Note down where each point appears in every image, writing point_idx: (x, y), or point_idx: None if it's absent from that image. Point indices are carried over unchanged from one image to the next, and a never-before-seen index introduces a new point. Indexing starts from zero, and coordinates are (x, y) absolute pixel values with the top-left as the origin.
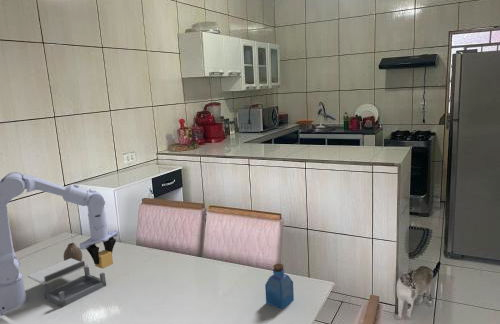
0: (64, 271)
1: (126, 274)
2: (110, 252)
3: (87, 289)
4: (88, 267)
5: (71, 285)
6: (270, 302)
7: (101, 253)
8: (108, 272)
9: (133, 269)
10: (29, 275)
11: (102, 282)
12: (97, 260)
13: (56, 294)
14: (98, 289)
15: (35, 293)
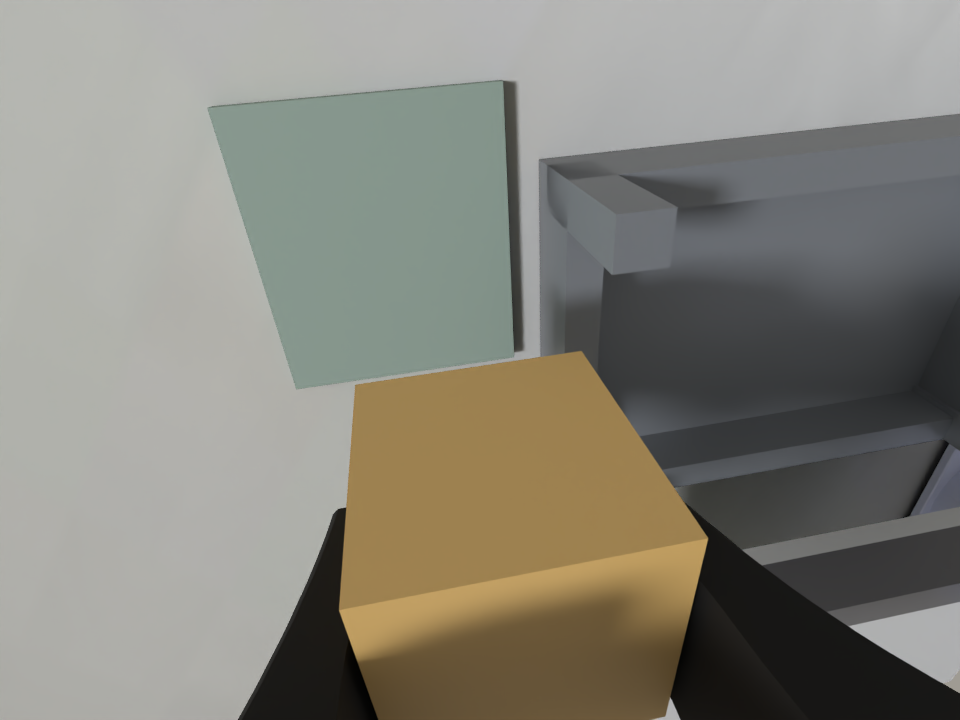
0: (909, 568)
1: (186, 284)
2: (374, 610)
3: (837, 154)
4: None
5: (739, 433)
6: None
7: (561, 672)
8: (336, 471)
9: (50, 339)
10: (950, 675)
11: (619, 173)
12: (691, 509)
13: (862, 397)
14: (658, 153)
15: (839, 526)
